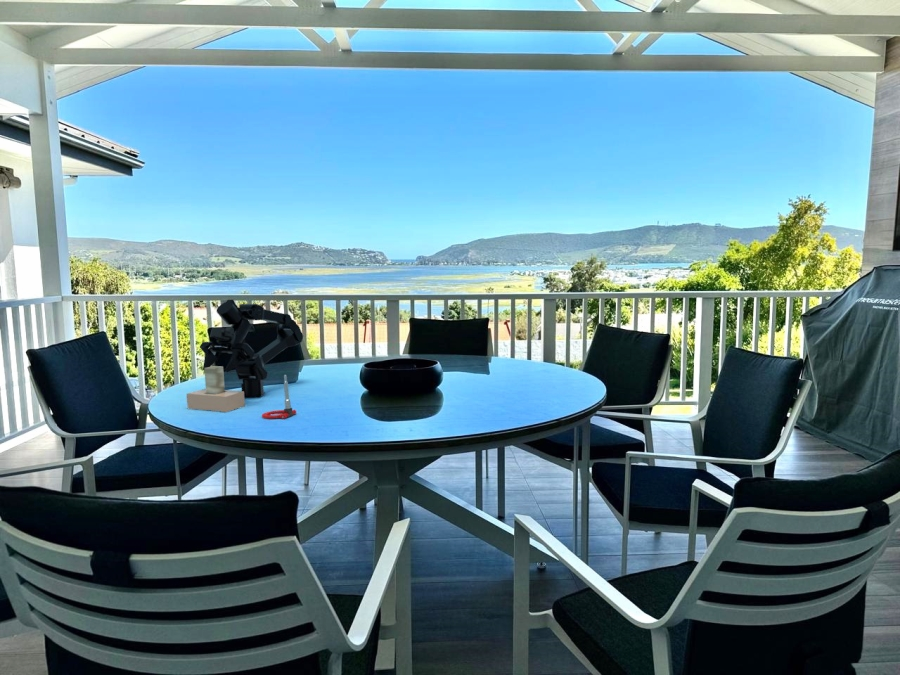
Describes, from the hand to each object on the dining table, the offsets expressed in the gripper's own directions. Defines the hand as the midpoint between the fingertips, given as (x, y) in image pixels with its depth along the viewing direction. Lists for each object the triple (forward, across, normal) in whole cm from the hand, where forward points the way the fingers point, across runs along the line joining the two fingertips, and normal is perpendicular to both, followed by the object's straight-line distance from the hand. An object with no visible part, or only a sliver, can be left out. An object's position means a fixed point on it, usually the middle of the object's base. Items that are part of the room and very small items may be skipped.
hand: (215, 370), depth 189 cm
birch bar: (+8, 0, +8) cm, 11 cm away
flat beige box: (+9, 0, +8) cm, 12 cm away
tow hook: (+11, +27, +6) cm, 30 cm away
